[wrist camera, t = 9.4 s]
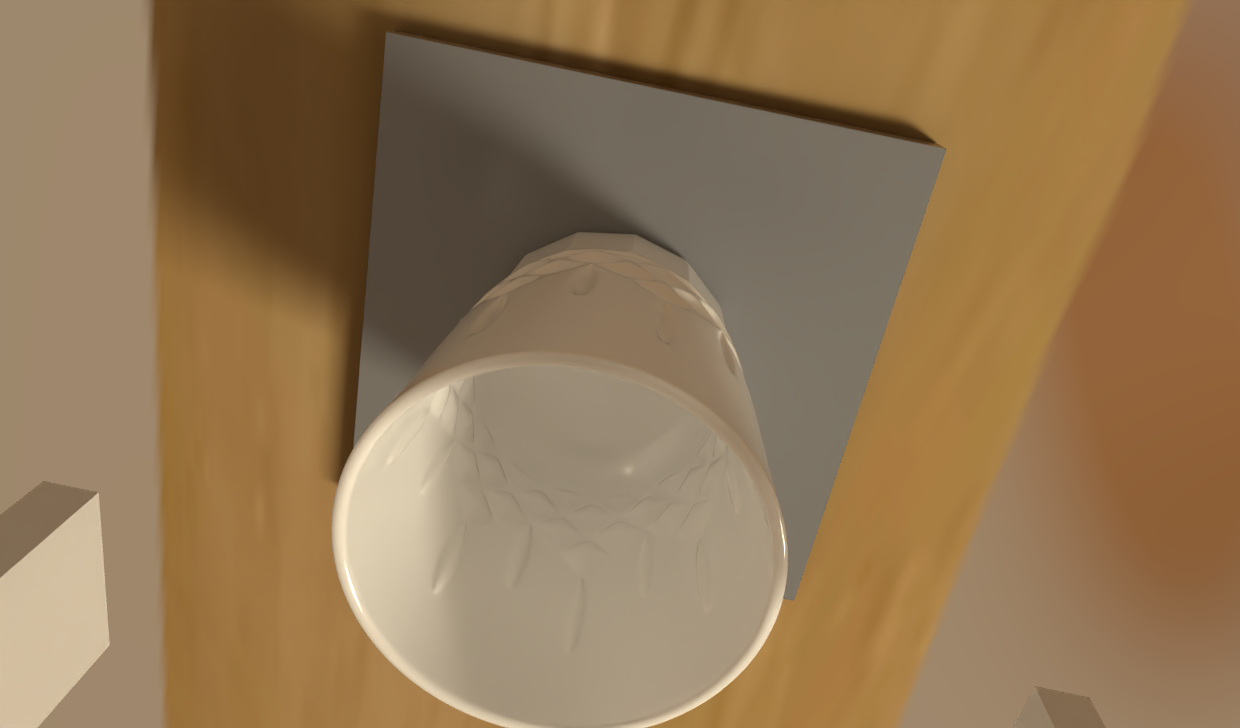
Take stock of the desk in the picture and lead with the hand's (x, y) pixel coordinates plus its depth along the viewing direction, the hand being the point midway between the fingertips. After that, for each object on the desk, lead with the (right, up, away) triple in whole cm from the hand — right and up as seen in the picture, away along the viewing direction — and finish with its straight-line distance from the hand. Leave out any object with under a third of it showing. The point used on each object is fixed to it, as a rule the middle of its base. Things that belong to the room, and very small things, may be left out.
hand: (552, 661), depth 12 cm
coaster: (+1, +5, +13) cm, 14 cm away
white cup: (+1, +5, +12) cm, 13 cm away
